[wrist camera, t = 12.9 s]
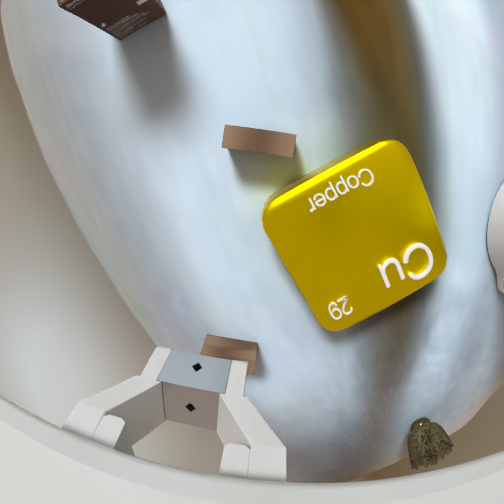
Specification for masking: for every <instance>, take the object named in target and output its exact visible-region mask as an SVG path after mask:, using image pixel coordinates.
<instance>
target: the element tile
mask: <svg viewBox="0 0 504 504" xmlns="http://www.w3.org/2000/svg"><path fill="white" fill-rule="evenodd" d="M262 223H263V227H264V230H265V232H266V234H267V236H268V237H269V239H270V241H271V242H272V244H273V246H274V247H275V249H276V251H277V252H278V254H279V256H280V257H281V259H282V261H283V262H284V264H285V266H286V267H287V269H288V271H289V272H290V274H291V276H292V277H293V279H294V281H295V282H296V284H297V286H298V288H299V289H300V291H301V293H302V294H303V296H304V298H305V299H306V301H307V303H308V305H309V306H310V308H311V310H312V311H313V313H314V315H315V317H316V318H317V320H318V322H319V323H320V325H321V326H323V327H324V328H325V329H327V330H329V331H341V330H344V329H347V328H349V327H351V326H353V325H355V324H357V323H359V322H361V321H363V320H364V319H366V318H368V317H370V316H372V315H374V314H376V313H378V312H379V311H381V310H383V309H385V308H387V307H389V306H390V305H392V304H394V303H396V302H397V301H399V300H401V299H403V298H405V297H406V296H408V295H410V294H411V293H413V292H415V291H416V290H418V289H420V288H421V287H423V286H425V285H426V284H428V283H430V282H431V281H433V280H435V279H436V278H437V277H438V276H439V275H440V274H441V273H442V272H443V270H444V268H445V266H446V260H447V254H446V250H445V247H444V243H443V240H442V237H441V234H440V231H439V228H438V225H437V222H436V219H435V216H434V213H433V210H432V207H431V204H430V202H429V199H428V196H427V194H426V191H425V189H424V186H423V184H422V181H421V179H420V176H419V174H418V171H417V169H416V167H415V164H414V162H413V160H412V157H411V155H410V153H409V152H408V150H407V149H406V147H405V146H403V145H402V144H401V143H400V142H398V141H396V140H372V141H369V142H367V143H365V144H363V145H361V146H359V147H357V148H355V149H353V150H351V151H350V152H348V153H346V154H344V155H342V156H340V157H338V158H336V159H335V160H333V161H331V162H329V163H327V164H325V165H323V166H322V167H320V168H318V169H316V170H314V171H312V172H311V173H309V174H307V175H305V176H303V177H302V178H300V179H298V180H296V181H294V182H293V183H291V184H289V185H287V186H285V187H284V188H282V189H280V190H278V191H277V192H275V193H273V194H272V195H271V196H270V197H269V198H268V199H267V201H266V202H265V204H264V208H263V213H262Z"/></svg>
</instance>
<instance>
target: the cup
mask: <svg viewBox="0 0 504 504" xmlns="http://www.w3.org/2000/svg"><path fill="white" fill-rule="evenodd" d="M411 432H412V433H411V434H410V436H409V438H408V452H409V457H410V463H411V468H412V469H413V468H415V469H416V470H418V468H419V465H420V466H421V465H424V467H425V468H428V466H429V465H434V464H437V462H438V460H439V458H441V459H444V454H445V455H448V454H449V453H450V451H452V449H451V447H452V446H453V443H452V441H451V440H450V438H449V437H448V435H447V434H446V432H445V431H444V429H443V428H442V427H441V426H440V425H439V424H437V423H435V422H430V420H429V419H428V418H420V419H418V420H416V421H415V422H414V423H413V424H412V426H411Z"/></svg>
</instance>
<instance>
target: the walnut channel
mask: <svg viewBox="0 0 504 504" xmlns="http://www.w3.org/2000/svg"><path fill="white" fill-rule="evenodd" d="M295 141H296V135H294V134H288V133H282V132H275V131H269V130H262V129H255V128H247V127H239V126H231V125H225V128H224V135H223V142H222V148H228V149H236V150H244V151H251V152H258V153H265V154H271V155H277V156H284V157H289V158H293V153H294V147H295ZM256 352H257V343H256V342H249V341H243V340H236V339H230V338H224V337H218V336H213V335H206V338H205V341H204V344H203V347H202V350H201V355H203V356H209V357H215V358H221V359H228V360H237V361H245V362H248V369H247V374H253V372H254V367H255V362H256Z"/></svg>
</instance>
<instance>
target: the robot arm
mask: <svg viewBox="0 0 504 504" xmlns="http://www.w3.org/2000/svg"><path fill="white" fill-rule="evenodd" d="M487 246H488V253H489V257H490V260H491V262H492V265H493V267H494V268H495V271H496V274H497V288H498V290H499V291H500V292H502V293H504V183H503V184H502V186H501V187H500V189H499V191H498V193H497V195H496V197H495V199H494V202H493V205H492V208H491V212H490V216H489V221H488V229H487ZM247 369H248V362H245V361H237V360H228V359H221V358H215V357H209V356H203V355H198V354H193V353H189V352H184V351H180V350H175V349H170V348H165V347H161V346H158V347H157V348H155V350H154V352H153V354H152V356H151V357H150V359H149V361H148V363H147V365H146V367H145V369H144V370H143V372H142V374H141V376H134V377H132V378H130V379H128V380H126V381H123V382H121V383H119V384H117V385H115V386H113V387H110V388H108V389H106V390H104V391H102V392H100V393H98V394H95V395H93V396H91V397H88V398H86V399H84V400H82V401H79V402H78V404H77V405H76V407H75V408H74V410H73V411H72V413H71V414H70V416H69V417H68V419H67V420H66V422H65V423H64V425H63V426H62V428H60V427H58V426H56V425H54V424H52V423H50V422H47V421H45V420H43V419H42V418H40V417H38V416H36V415H34V414H32V413H30V412H28V411H27V410H25V409H23V408H21V407H19V406H18V405H16V404H14V403H12V402H11V401H9V400H7V399H6V398H4V397H2V396H1V395H0V504H504V450H503V451H500V452H497V453H494V454H492V455H489V456H486V457H483V458H480V459H476V460H473V461H470V462H466V463H463V464H459V465H455V466H452V467H448V468H443V469H439V470H435V471H430V472H425V473H419V474H414V475H408V476H402V477H395V478H388V479H379V480H370V481H358V482H341V483H287V482H286V447H285V446H284V445H283V444H282V442H281V441H280V440H279V438H278V437H277V436H276V434H275V433H274V432H273V431H272V429H271V428H270V427H269V425H268V424H267V423H266V421H265V420H264V418H263V417H262V416H261V414H260V413H259V412H258V410H257V409H256V407H255V406H254V405H253V403H252V402H251V401H250V399H249V398H247V397H244V392H245V384H246V377H247ZM165 420H169V421H174V422H179V423H184V424H190V425H194V426H199V427H204V428H208V429H214V430H217V433H218V435H219V437H220V439H221V441H222V443H223V446H224V451H223V457H222V461H221V466H220V471H219V476H217V475H212V474H206V473H200V472H195V471H191V470H186V469H181V468H177V467H172V466H168V465H164V464H161V463H157V462H153V461H149V460H146V459H142V458H139V457H136V456H135V455H134V452H133V449H132V445H133V444H135V443H136V442H138V441H139V440H140V439H142V438H143V437H144V436H146V435H147V434H149V433H150V432H151V431H153V430H154V429H155V428H157V427H158V426H159V425H161V424H162V423H163V422H164V421H165Z"/></svg>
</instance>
